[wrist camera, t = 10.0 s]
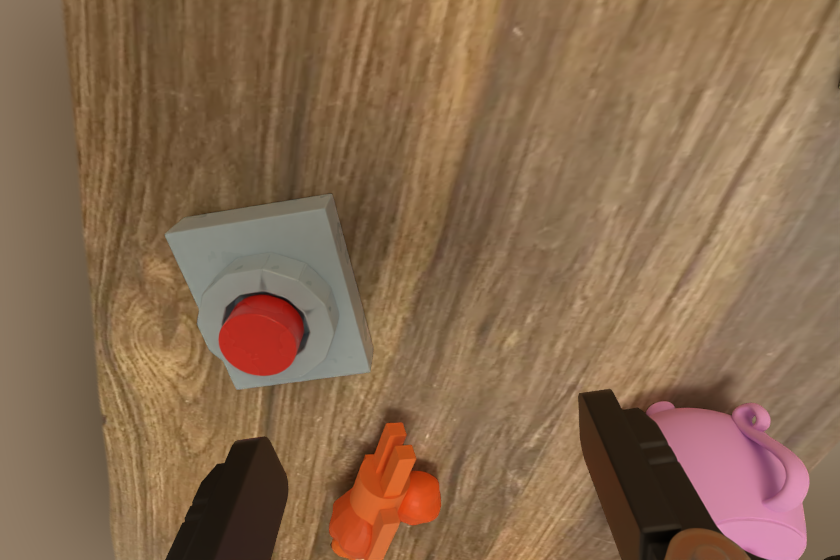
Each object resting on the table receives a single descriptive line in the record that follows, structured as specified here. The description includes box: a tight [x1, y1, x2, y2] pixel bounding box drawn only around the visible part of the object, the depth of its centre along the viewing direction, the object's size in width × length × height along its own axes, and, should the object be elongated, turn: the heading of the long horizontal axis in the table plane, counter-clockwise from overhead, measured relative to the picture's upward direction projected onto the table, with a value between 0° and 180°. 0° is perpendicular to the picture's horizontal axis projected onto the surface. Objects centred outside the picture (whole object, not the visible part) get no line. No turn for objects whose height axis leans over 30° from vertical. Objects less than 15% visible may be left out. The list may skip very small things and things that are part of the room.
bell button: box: [218, 295, 304, 376], centre depth 23 cm, size 4×4×2 cm
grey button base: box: [165, 194, 373, 390], centre depth 25 cm, size 10×8×4 cm
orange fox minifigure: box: [329, 423, 441, 560], centre depth 32 cm, size 5×8×12 cm
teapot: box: [646, 401, 809, 560], centre depth 29 cm, size 10×15×9 cm
